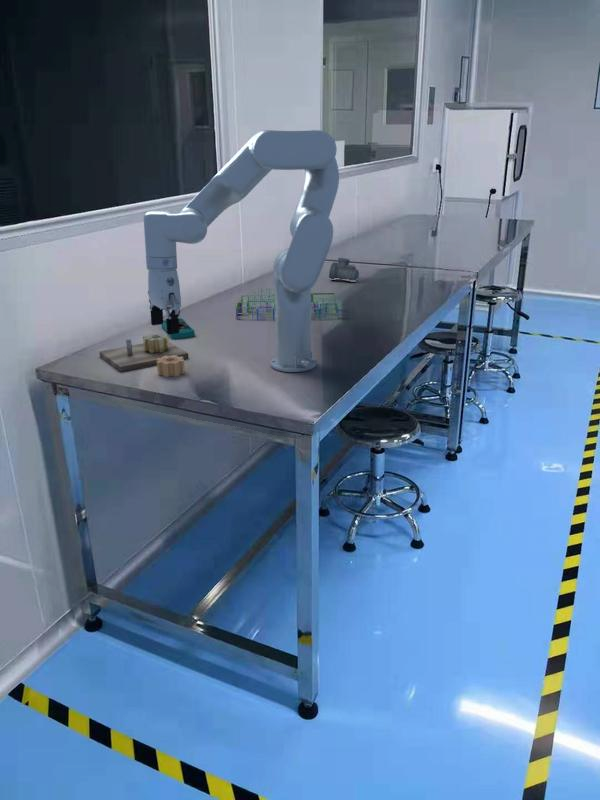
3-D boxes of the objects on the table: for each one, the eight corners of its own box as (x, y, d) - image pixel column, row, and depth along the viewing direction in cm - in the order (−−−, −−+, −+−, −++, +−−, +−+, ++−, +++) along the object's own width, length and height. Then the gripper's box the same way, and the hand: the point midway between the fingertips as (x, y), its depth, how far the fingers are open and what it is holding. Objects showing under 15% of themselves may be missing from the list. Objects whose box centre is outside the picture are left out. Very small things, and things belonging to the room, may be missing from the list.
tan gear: (189, 373, 171) (188, 360, 170) (164, 378, 168) (163, 365, 166) (177, 366, 177) (176, 353, 175) (153, 371, 173) (152, 358, 172)
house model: (236, 321, 221) (235, 308, 219) (241, 301, 248) (240, 288, 246) (338, 321, 221) (338, 307, 220) (332, 300, 249) (332, 288, 247)
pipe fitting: (326, 281, 277) (330, 257, 274) (333, 279, 284) (337, 255, 281) (352, 287, 273) (356, 262, 269) (358, 284, 280) (362, 261, 276)
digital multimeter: (171, 341, 200) (171, 331, 199) (161, 328, 213) (160, 319, 212) (195, 338, 202) (195, 329, 201) (184, 326, 216) (183, 317, 214)
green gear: (173, 349, 184) (172, 337, 183) (149, 354, 181) (148, 342, 179) (163, 343, 190) (162, 331, 188) (139, 347, 186) (138, 335, 185)
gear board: (188, 358, 183) (187, 337, 181) (120, 372, 172) (118, 350, 170) (164, 344, 195) (163, 325, 193) (100, 356, 184) (97, 336, 182)
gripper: (190, 267, 157) (193, 335, 163) (161, 256, 170) (164, 319, 176) (162, 269, 153) (165, 339, 159) (134, 258, 166) (138, 323, 172)
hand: (165, 328), depth 168 cm, fingers open, 9 cm apart
